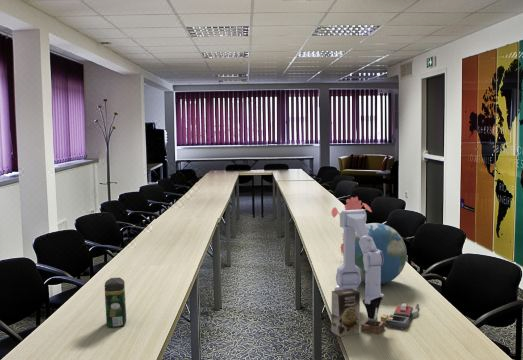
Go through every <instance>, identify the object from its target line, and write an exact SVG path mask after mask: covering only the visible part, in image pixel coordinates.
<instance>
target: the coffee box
mask: <svg viewBox="0 0 523 360" xmlns="http://www.w3.org/2000/svg"><path fill="white" fill-rule="evenodd" d="M360 302H361V292H360V291H358V290H357V291H356V290H353V289H351V288H350V289H343V290H336V291H334V290H331V320H330V322H331V326H330V327H331V328H330V332H332V333H333V334H334V335H336V336H338V337H346V336H352V335H356V334H360V313H361V312H360V310H361V309H360V306H361V303H360Z"/></svg>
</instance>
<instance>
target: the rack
mask: <svg viewBox="0 0 523 360" xmlns="http://www.w3.org/2000/svg"><path fill="white" fill-rule="evenodd" d="M360 324H361V325H360V331H361V332H366V333H370V334H378V335H380V334H381V332H382V331H383V330H384V329H385V324H384V322H383V321H381V320H377V326H372V325H368V318H367V319H365V320H364V321H363V322H362V323H360Z"/></svg>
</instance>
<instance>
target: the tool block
mask: <svg viewBox="0 0 523 360" xmlns="http://www.w3.org/2000/svg"><path fill="white" fill-rule="evenodd" d="M388 317H391V318H393V320H391V319H388V318H387V319H386V324H385V327H386V328H387V327H388V328H394V329H401V330H406V329H407V328H408V326H409V325H410V321H409V317H403V316H397V315H394V314H390V315H388Z"/></svg>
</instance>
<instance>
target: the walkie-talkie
mask: <svg viewBox="0 0 523 360" xmlns="http://www.w3.org/2000/svg"><path fill="white" fill-rule="evenodd" d="M419 306H420V305H419V304H416V305H415V307H414V308H413V306H411V305H408V303H401V304H399V305H396V308H395V310H394V312H393V315H397V316H403V317H409V322H410V321H411V320H412V318H416V317H417V316H418V314H419Z"/></svg>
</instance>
